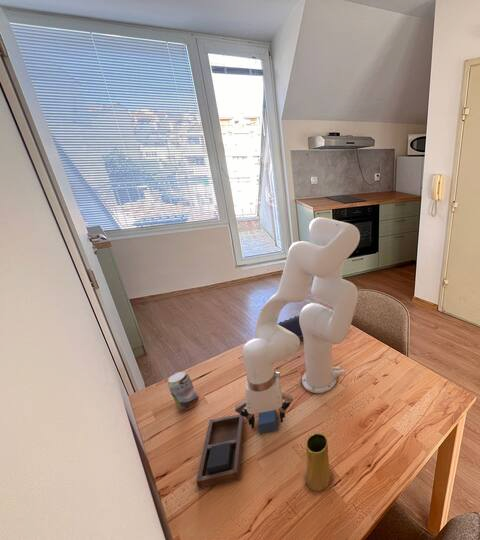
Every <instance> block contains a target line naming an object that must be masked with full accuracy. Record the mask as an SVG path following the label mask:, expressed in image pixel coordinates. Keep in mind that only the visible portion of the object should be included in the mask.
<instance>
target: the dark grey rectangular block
mask: <svg viewBox="0 0 480 540" xmlns="http://www.w3.org/2000/svg"><path fill="white" fill-rule="evenodd" d="M232 455H233V450H232V446H231V442H230V443H225V444H221V445H216V446H211V450H210V455H209V460H208V465H207V471H208V474H209V475H211V474H215V473H220V472H224V471H228V470H231V463H232Z"/></svg>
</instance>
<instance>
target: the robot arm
mask: <svg viewBox="0 0 480 540" xmlns="http://www.w3.org/2000/svg"><path fill="white" fill-rule="evenodd" d="M308 228H309V229H308V232H309V236H310V238H311V240H312V241H313V242H309V241H303V240H301V241H300V240H299V241H295V242H293V243H292V244H291V245H290V247H289V249H288V251H287V254H286V259H285V263H284V266H283V271H282V273H281V278H280V281H279V284H278V290H277V291H276V293H274V294H273V295H272V296H271V297H269V299H268V300H267V301H266V302H265V304H263V306H262V307H261V309H260V312H259V313H258V316H257V321H256V324H255V330H254V337H255V338H253V339H251V340H249V341H247V342H246V343H245V344H244V345H243V347H242V350H241V351H242V358H243V365H244V369H245V376H246V381H245V389H244V391H245V399H244V400H242V401H241V402H240V403H239V404H237V405H236V406H235V409H234V411H235V412H236V413H237V414H241V416H244V418H245V419H246V420H247V421H248V425H249V426H251V429H252V430H253V429H255V425H256V424H255V423H256V420H255V415H256V414H259V413H262V412H267V411H272V410H276V411H277V410H278V411H279V418H280V423H284V419H285V418H286V410H287V409H288V408H289V407H290V406H291V404H292V403H293V402H294V396H293V395H291V394H289V393H284V392H283V391H282V385H281V382H280V379H279V378H281V372H280V371H276V370H275V365H274V364H275V363H277V362H280V361H284V360H286V359H288V358H290V357H292V356H293V355H295V354H297V352H298V351H299V349H300V347H301V339H299V338H298V336H297V335H295V334H294V333H292V332H290V331H289V330H287V329H285V328H284V327H282V326H280V325H278V320H279V317H280V313H281V312H282V309H283V308H284V307H285V306H286V305H287V304H290V303H300V302H305V301H306V300H307V298H308V296H309V292H310V293H311V296H312V298H314V299H315V300H316V301H318V302H321V303H323V304H325V305H326V306H325V305H322V304H320V303H314V302H312V303H308V304H305V306H303V307H302V309H301V311H300V313H299V315H300V316H299V315H298V316H299V323H300V327H301V330H302V334H303V338H302V340H303V351H304V352H303V353H304V364H305V365H304V366H305V367H304V368H305V372H304V373H303V374H302V377H301V383H302V386H303V388H304V389H305V390H306V391H308V392H310V393H313V394H322V393H326V392H329V391H330V390H331V389H333V388H334V386H336V384H337V379H338V378H337V377H339V376H340V377H341V376H345V375H346V370H345V369H341V366H340V365H338V366H333V345H340V344H342V343H343V342H344V341H345V340H346V339H347V336H348V335H349V332H350V329H351V326H352V322H353V318H354V315H355V311H356V307H357V303H358V299H359V291H358V288H357V285H355V283H353V282H352V281H349V280H347V279H344V278H343V277H342V276H343V271H344V266H345V261H346V260H347V259H348V258H349V257H350V256H351V255H352V254H353V253H354V251H355V250H356V249H357V247H358V246H359V243H360V239H361V234H360V233H361V232H360V230H359V229H358V227H357V226H355V225H354V224H352V223H349V222H345V221H340V220H337V219H333V218H329V217H315V218H313V219H312V220H311V221H310V223H309V227H308ZM310 289H311V291H310ZM327 306H329V307H331V308H332V309H331V308H329V307H327Z"/></svg>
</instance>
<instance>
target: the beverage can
mask: <svg viewBox="0 0 480 540" xmlns="http://www.w3.org/2000/svg"><path fill="white" fill-rule="evenodd" d="M167 388H168V389H169V391H170V394H171V396H172V398H173V400H174V402H175V404H176V407H177V409H178V410H180V411H185V410H189V409H191V408H192V407H195V405H196V403H198V401H199V397H198V394H197V392H196V389H195V387H194V385H193V382H192V379H191V377H190V375H189V373H187V372H185V371H184V370H182V371H177V372H175V373H173V374H172V375H170V376H169V378H168V380H167Z"/></svg>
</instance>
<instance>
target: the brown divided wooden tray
mask: <svg viewBox="0 0 480 540" xmlns="http://www.w3.org/2000/svg"><path fill="white" fill-rule="evenodd" d="M244 428H245V417H244V416H241V414H239V413H237V414H234V415H229V416H228V415H227V416H223V417H217V418H213V419H209V422H208V426H207V430H206V434H205V435H206V436H205V439H204V445H203V450H202V453H201V458H200V463H199V467H198V471H197V476H196V480H195V481H196V486H197V488H198V490H201V489H205V488H209V487H214V486H218V485H222V484H226V483H229V482H232V481H237V480H240V470H241V462H242V461H241V458H242V450H243V438H244ZM230 442H231V446H232V450H233V455H232V463H231V470H228V471H224V472H220V473H215V474H211V475H209V474H208V471H207V465H208V460H209V455H210V450H211V446H216V445H221V444H225V443H230Z"/></svg>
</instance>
